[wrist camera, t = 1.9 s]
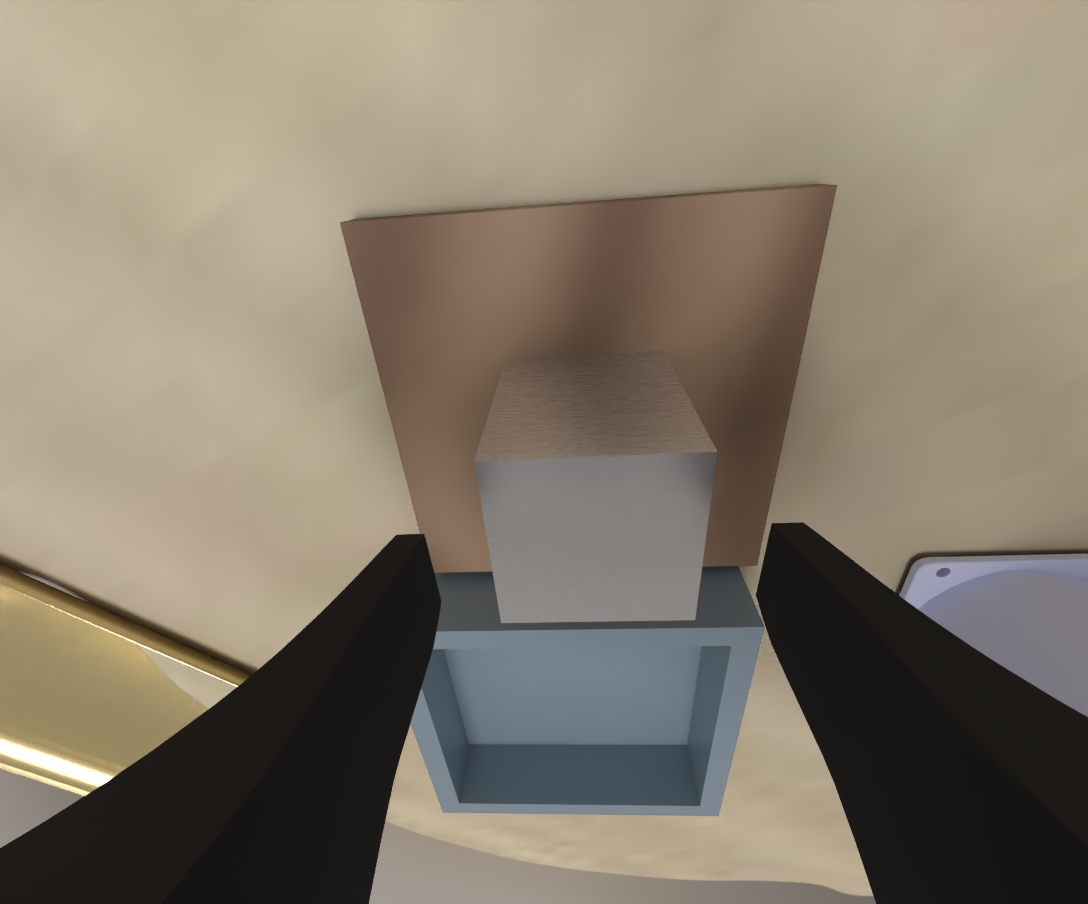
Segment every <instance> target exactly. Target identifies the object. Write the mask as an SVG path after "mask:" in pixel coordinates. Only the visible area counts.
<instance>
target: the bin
mask: <svg viewBox="0 0 1088 904" xmlns="http://www.w3.org/2000/svg"><path fill="white" fill-rule="evenodd" d="M435 577H436V581H437V585H438V589H439V593H440V597H441V601H442V602H441V608H440V614H439V620H438V626H437V632H436V637H435V642H434V647H433V651H432V654H431V658H430V661H429V664H428V668H427V671H426V674H425V677H424V681H423V684H422V687H421V691H420V694H419V697H418V700H417V704H416V707H415V710H414V713H413V716H412V720H411V726H412V729H413V732H414V734H415V737H416V740H417V742H418V745H419V748H420V751H421V753H422V756H423V759H424V762H425V764H426V767H427V770H428V772H429V775H430V778H431V781H432V783H433V786H434V789H435V791H436V794H437V797H438V800H439V802H440V805H441V808H442V811H443V813H517V814H596V815H675V816H719V812H720V808H721V804H722V799H723V795H724V791H725V787H726V783H727V779H728V775H729V771H730V767H731V762H732V758H733V754H734V750H735V746H736V742H737V738H738V734H739V730H740V725H741V721H742V717H743V713H744V709H745V705H746V701H747V697H748V693H749V688H750V684H751V680H752V676H753V672H754V668H755V664H756V660H757V656H758V651H759V647H760V643H761V639H762V635H763V631H764V625H763V623H762V620H761V618H760V616H759V613H758V611H757V609H756V606H755V604H754V602H753V600H752V597H751V595H750V593H749V590H748V588H747V586H746V583H745V581H744V579H743V576H742V574H741V572H740V570H739V567H738V566H711V567H702V572H701V580H700V587H699V595H698V602H697V610H696V617H695V620H671V621H604V622H538V623H501V619H500V613H499V607H498V601H497V595H496V589H495V584H494V578H493V572H492V571H489V572H445V573H435Z"/></svg>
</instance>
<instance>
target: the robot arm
mask: <svg viewBox="0 0 1088 904" xmlns="http://www.w3.org/2000/svg"><path fill="white" fill-rule="evenodd" d="M756 597H757V600H758V603H759V607H760V610H761V613H762V617H763V620H764V623H765V626H766V629H767V632H768V635H769V638H770V641H771V644H772V646H773V648H774V650H775V653H776V655H777V657H778V659H779V662H780V664H781V666H782V668H783V670H784V673H785V675H786V677H787V679H788V681H789V683H790V686H791V688H792V690H793V692H794V694H795V696H796V699H797V701H798V703H799V705H800V707H801V709H802V712H803V714H804V716H805V718H806V720H807V722H808V725H809V727H810V729H811V731H812V733H813V735H814V737H815V740H816V742H817V744H818V746H819V748H820V750H821V753H822V755H823V757H824V759H825V762H826V764H827V767H828V769H829V771H830V774H831V776H832V779H833V781H834V783H835V786H836V789H837V792H838V794H839V797H840V800H841V803H842V806H843V808H844V811H845V814H846V817H847V820H848V822H849V825H850V828H851V831H852V833H853V836H854V839H855V842H856V845H857V848H858V851H859V854H860V857H861V860H862V862H863V865H864V868H865V871H866V874H867V877H868V880H869V883H870V886H871V889H872V892H873V895H874V898H875V900H876V904H1088V554H1048V555H1005V556H962V557H926V558H922V559H919V560H917V561H916V562H915V563H914V564H913V565H912V567H911V569H910V571H909V574H908V576H907V578H906V581H905V583H904V585H903V588H902V590H901V592H900V594H899V595H898V594H896V593H895V592H894V591H892V590H891V589H890V588H888V587H887V586H886V585H884V584H883V583H882V582H880V581H879V580H878V579H876V578H875V577H874V576H872V575H871V574H870V573H868V572H867V571H866V570H864V569H863V568H862V567H861V566H859V565H858V564H857V563H855V562H854V561H853V560H852V559H850V558H849V557H848V556H846V555H845V554H844V553H842V552H841V551H840V550H839V549H837V548H836V547H835V546H833V545H832V544H831V543H830V542H828V541H827V540H826V539H824V538H823V537H822V536H821V535H819V534H818V533H817V532H815V531H814V530H813V529H811V528H810V527H808V526H807V525H806V524H804V523H772V525H771V529H770V534H769V538H768V543H767V547H766V552H765V557H764V561H763V566H762V570H761V575H760V579H759V584H758V588H757V593H756ZM441 602H442V601H441V597H440V593H439V589H438V585H437V581H436V577H435V573H434V570H433V566H432V562H431V558H430V554H429V550H428V546H427V542H426V538H425V534H407V535H396V536H395V537H394V538H393V539H392V540H391V541H390V542H389V543H388V544H387V545H386V546H385V547H384V548H383V549H382V550H381V551H380V553H379V554H378V555H377V556H376V557H375V558H374V559H373V560H372V561H371V562H370V563H369V564H368V565H367V566H366V567H365V568H364V569H363V570H362V571H361V572H360V573H359V575H358V576H357V577H356V578H355V579H354V580H353V581H352V582H351V583H350V584H349V585H348V586H347V587H346V588H345V589H344V590H343V591H342V592H341V593H340V594H339V595H338V596H337V597H336V598H335V599H334V600H333V601H332V602H331V603H330V604H329V605H328V606H327V607H326V608H325V609H324V610H323V611H322V612H321V613H320V614H319V615H318V616H317V617H316V618H315V619H314V620H313V621H312V622H311V623H309V624H308V625H307V626H306V627H305V628H304V629H303V630H302V631H301V632H300V633H299V634H298V635H297V636H296V637H295V638H293V639H292V640H291V641H290V642H289V643H288V644H287V645H286V646H285V647H284V648H283V649H282V650H281V651H279V652H278V653H277V654H276V655H275V656H274V657H273V658H271V659H270V660H269V661H268V662H267V663H266V664H264V665H263V666H262V667H261V668H260V669H259V670H257V671H256V672H255V673H254V674H253V675H251V676H250V677H249V678H248V679H246V680H245V681H244V682H243V683H242V684H240V685H239V686H238V687H237V688H235V689H234V690H233V691H232V692H230V693H229V694H228V695H227V696H226V697H224V698H223V699H222V700H220V701H219V702H218V703H217V704H215V705H214V706H213V707H211V708H210V709H209V710H207V711H206V712H205V713H203V714H202V715H200V716H199V717H198V718H196V719H195V720H194V721H192V722H191V723H190V724H188V725H187V726H185V727H184V728H183V729H181V730H180V731H179V732H177V733H176V734H175V735H173V736H172V737H170V738H169V739H168V740H166V741H165V742H164V743H162V744H161V745H160V746H158V747H157V748H155V749H154V750H153V751H151V752H150V753H148V754H147V755H146V756H144V757H143V758H141V759H140V760H138V761H137V762H135V763H134V764H132V765H131V766H129V767H128V768H126V769H125V770H123V771H122V772H121V773H119V774H118V775H116V776H115V777H113V778H112V779H110V780H109V781H107V782H106V783H104V784H103V785H101V786H99V787H98V788H96V789H95V790H93V791H92V792H90V793H89V794H87V795H86V796H84V797H83V798H81V799H79V800H78V801H76V802H75V803H73V804H72V805H70V806H69V807H67V808H66V809H64V810H62V811H61V812H59V813H58V814H56V815H54V816H53V817H51V818H50V819H48V820H46V821H45V822H43V823H42V824H40V825H38V826H37V827H35V828H33V829H32V830H30V831H29V832H27V833H25V834H23V835H22V836H20V837H18V838H17V839H15V840H13V841H12V842H10V843H8V844H7V845H5V846H3V847H2V848H0V904H369V899H370V894H371V889H372V884H373V878H374V874H375V868H376V863H377V858H378V853H379V848H380V843H381V838H382V833H383V828H384V824H385V819H386V814H387V810H388V805H389V800H390V796H391V791H392V786H393V782H394V778H395V774H396V770H397V767H398V763H399V759H400V755H401V752H402V749H403V746H404V742H405V739H406V736H407V733H408V729H409V726H410V723H411V720H412V716H413V713H414V710H415V707H416V704H417V700H418V697H419V694H420V691H421V687H422V684H423V681H424V677H425V674H426V671H427V668H428V664H429V661H430V658H431V654H432V651H433V647H434V642H435V637H436V632H437V626H438V620H439V614H440V608H441Z"/></svg>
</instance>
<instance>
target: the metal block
mask: <svg viewBox="0 0 1088 904" xmlns="http://www.w3.org/2000/svg"><path fill="white" fill-rule="evenodd" d="M716 459H717V450H716V448H715V446H714V444H713V442H712V441H711V439H710V437H709V435H708V433H707V431H706V429H705V428H704V426H703V424H702V422H701V420H700V418H699V416H698V414H697V413H696V411H695V409H694V407H693V405H692V403H691V401H690V400H689V398H688V396H687V394H686V392H685V390H684V388H683V386H682V385H681V383H680V381H679V379H678V377H677V375H676V373H675V372H674V370H673V368H672V366H671V364H670V362H669V360H668V358H667V357H666V355H665V353H664V351H650V352H631V353H613V354H594V355H575V356H557V357H538V358H519V359H506V361H505V364H504V367H503V370H502V373H501V377H500V380H499V383H498V386H497V389H496V392H495V396H494V399H493V402H492V405H491V408H490V412H489V415H488V418H487V421H486V424H485V427H484V431H483V434H482V437H481V440H480V443H479V446H478V450H477V453H476V456H475V459H474V465H475V471H476V477H477V483H478V489H479V495H480V501H481V506H482V512H483V518H484V524H485V530H486V536H487V542H488V548H489V554H490V560H491V566H492V572H493V578H494V584H495V589H496V595H497V601H498V607H499V613H500V619H501V623H538V622H604V621H671V620H695V617H696V610H697V602H698V595H699V587H700V580H701V572H702V565H703V557H704V549H705V542H706V534H707V527H708V519H709V512H710V504H711V497H712V489H713V482H714V474H715V467H716Z"/></svg>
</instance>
